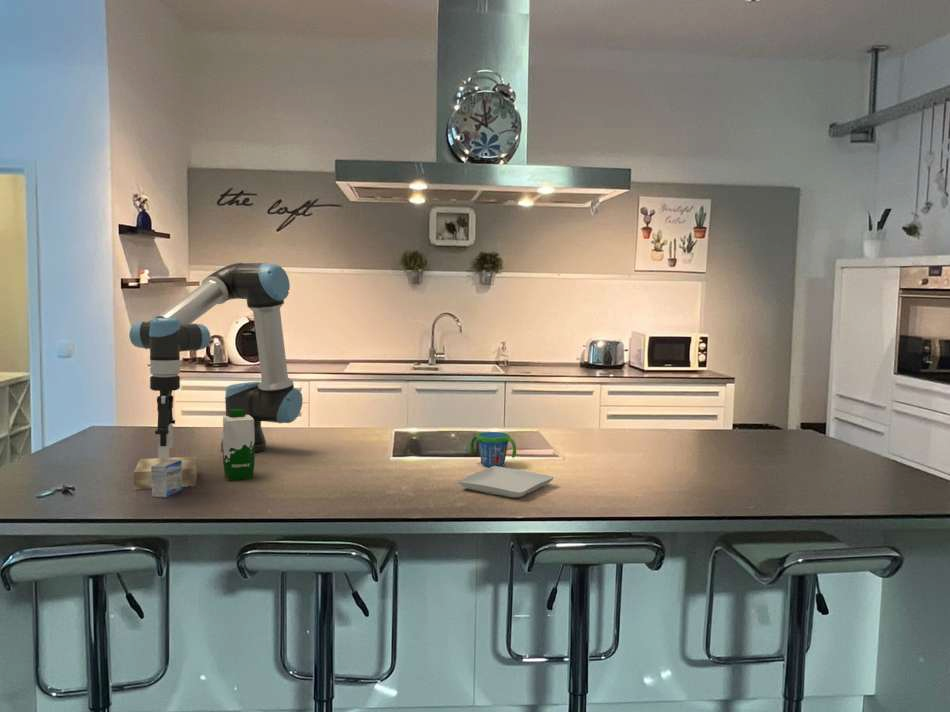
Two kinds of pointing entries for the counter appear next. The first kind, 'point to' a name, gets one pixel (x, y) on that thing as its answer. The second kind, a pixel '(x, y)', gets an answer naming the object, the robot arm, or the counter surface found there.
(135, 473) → the beige slab
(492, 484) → the salad plate
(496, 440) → the snack cup
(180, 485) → the medicine box
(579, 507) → the counter surface
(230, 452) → the milk carton
